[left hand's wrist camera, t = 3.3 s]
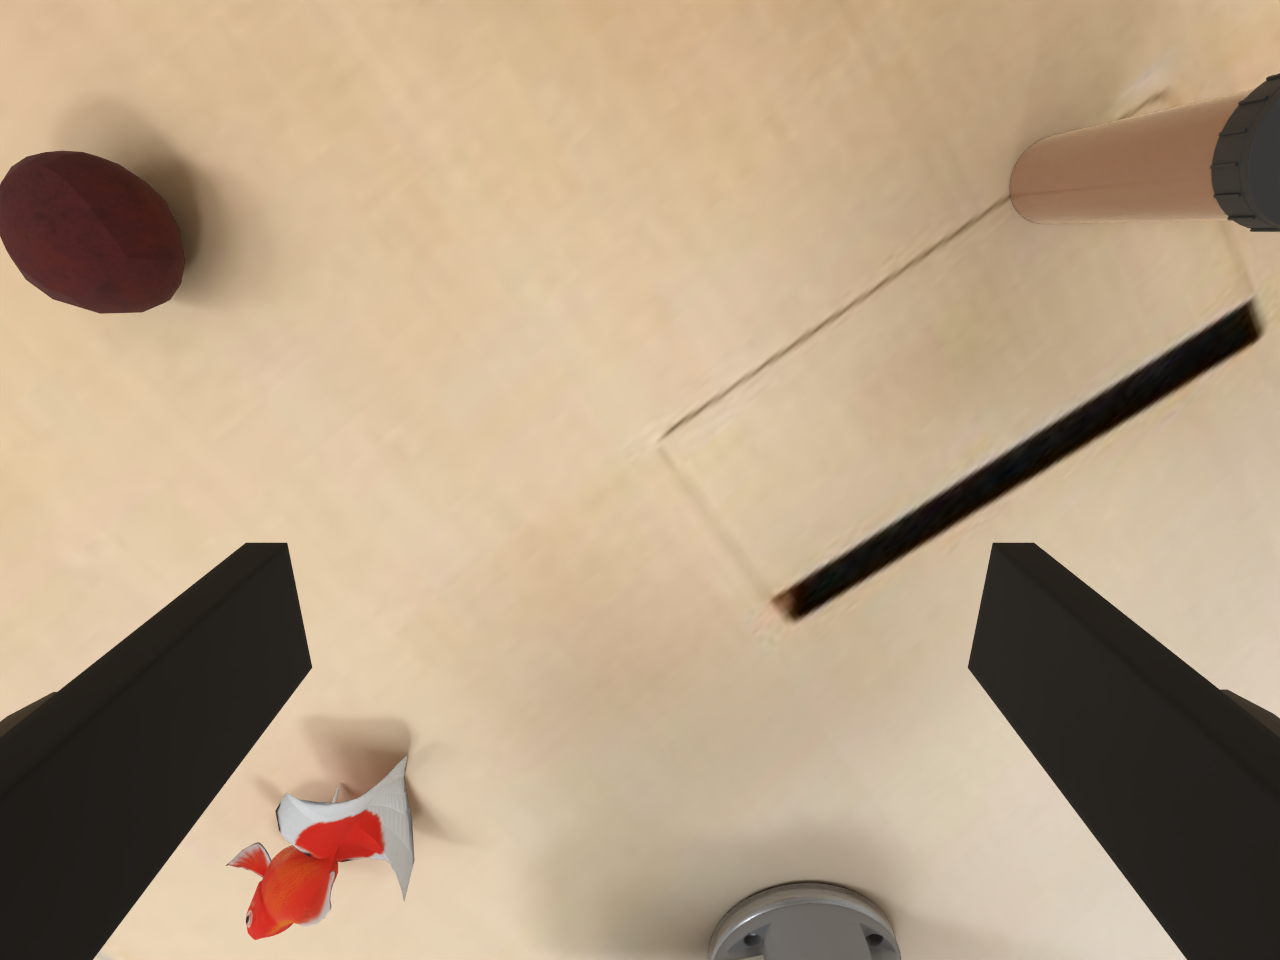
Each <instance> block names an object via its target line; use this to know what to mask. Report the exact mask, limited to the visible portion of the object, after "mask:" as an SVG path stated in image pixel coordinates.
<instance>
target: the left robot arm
mask: <svg viewBox="0 0 1280 960" xmlns="http://www.w3.org/2000/svg"><path fill="white" fill-rule="evenodd" d="M311 668H312V665H311V660H310V655H309V650H308V645H307V640H306V635H305V630H304V625H303V620H302V615H301V610H300V605H299V600H298V595H297V590H296V585H295V580H294V575H293V570H292V565H291V560H290V555H289V550H288V545H287V543H245V544H244V545H243V546H241V547H240V548H239V549H238V550H236V551H235V552H234V553H233V554H231V555H230V556H229V557H227V558H226V559H225V560H224V561H222V562H221V563H220V564H219V565H217V566H216V567H215V568H214V569H212V570H211V571H210V572H209V573H207V574H206V575H205V576H203V577H202V578H201V579H200V580H198V581H197V582H196V583H195V584H193V585H192V586H191V587H190V588H188V589H187V590H186V591H185V592H183V593H182V594H181V595H179V596H178V597H177V598H176V599H174V600H173V601H172V602H171V603H169V604H168V605H167V606H166V607H164V608H163V609H162V610H161V611H159V612H158V613H157V614H155V615H154V616H153V617H152V618H150V619H149V620H148V621H147V622H145V623H144V624H143V625H142V626H140V627H139V628H138V629H137V630H135V631H134V632H133V633H131V634H130V635H129V636H128V637H126V638H125V639H124V640H123V641H121V642H120V643H119V644H118V645H116V646H115V647H114V648H113V649H111V650H110V651H109V652H107V653H106V654H105V655H104V656H102V657H101V658H100V659H99V660H97V661H96V662H95V663H94V664H92V665H91V666H90V667H89V668H87V669H86V670H85V671H83V672H82V673H81V674H80V675H78V676H77V677H76V678H75V679H73V680H72V681H71V682H70V683H68V684H67V685H66V686H65V687H63V688H62V689H61V690H59V691H58V692H53V693H51V694H49V695H47V696H45V697H43V698H41V699H39V700H38V701H36V702H34V703H32V704H30V705H28V706H26V707H24V708H22V709H21V710H19V711H17V712H15V713H13V714H11V715H9V716H7V717H6V718H5V719H3V720H2V721H1V722H0V960H93V959H94V957H95V956H96V955H97V953H98V952H99V951H100V949H101V948H102V947H103V945H104V944H105V943H106V941H107V940H108V939H109V937H110V936H111V935H112V933H113V932H114V931H115V929H116V928H117V927H118V925H119V924H120V923H121V921H122V920H123V919H124V917H125V916H126V915H127V913H128V912H129V911H130V909H131V908H132V907H133V906H134V904H135V903H136V902H137V900H138V899H139V898H140V896H141V895H142V894H143V892H144V891H145V890H146V888H147V887H148V886H149V884H150V883H151V882H152V880H153V879H154V878H155V876H156V875H157V874H158V872H159V871H160V870H161V868H162V867H163V866H164V864H165V863H166V862H167V860H168V859H169V858H170V856H171V855H172V854H173V852H174V851H175V850H176V848H177V847H178V846H179V844H180V843H181V842H182V840H183V839H184V838H185V836H186V835H187V834H188V832H189V831H190V830H191V828H192V827H193V826H194V824H195V823H196V822H197V820H198V819H199V818H200V816H201V815H202V814H203V812H204V811H205V810H206V808H207V807H208V806H209V804H210V803H211V802H212V800H213V799H214V798H215V796H216V795H217V794H218V792H219V791H220V790H221V788H222V787H223V786H224V784H225V783H226V782H227V780H228V779H229V778H230V776H231V775H232V774H233V772H234V771H235V770H236V768H237V767H238V766H239V764H240V763H241V762H242V760H243V759H244V758H245V756H246V755H247V754H248V752H249V751H250V750H251V748H252V747H253V746H254V744H255V743H256V742H257V740H258V739H259V738H260V736H261V735H262V734H263V732H264V731H265V730H266V728H267V727H268V726H269V724H270V723H271V722H272V720H273V719H274V718H275V716H276V715H277V714H278V712H279V711H280V710H281V708H282V707H283V706H284V704H285V703H286V702H287V700H288V699H289V698H290V696H291V695H292V694H293V692H294V691H295V690H296V688H297V687H298V686H299V684H300V683H301V682H302V680H303V679H304V678H305V676H306V675H307V674H308V672H309V671H310V670H311ZM968 668H969V670H970V671H971V672H972V674H973V675H974V676H975V678H976V679H977V680H978V682H979V683H980V684H981V686H982V687H983V688H984V690H985V691H986V692H987V694H988V695H989V696H990V698H991V699H992V700H993V702H994V703H995V704H996V706H997V707H998V708H999V710H1000V711H1001V712H1002V714H1003V715H1004V716H1005V718H1006V719H1007V720H1008V722H1009V723H1010V724H1011V726H1012V727H1013V728H1014V730H1015V731H1016V732H1017V734H1018V735H1019V736H1020V738H1021V739H1022V740H1023V742H1024V743H1025V744H1026V746H1027V747H1028V748H1029V750H1030V751H1031V752H1032V754H1033V755H1034V756H1035V758H1036V759H1037V760H1038V762H1039V763H1040V764H1041V766H1042V767H1043V768H1044V770H1045V771H1046V772H1047V774H1048V775H1049V776H1050V778H1051V779H1052V780H1053V782H1054V783H1055V784H1056V786H1057V787H1058V788H1059V790H1060V791H1061V792H1062V794H1063V795H1064V796H1065V798H1066V799H1067V800H1068V802H1069V803H1070V804H1071V806H1072V807H1073V808H1074V810H1075V811H1076V812H1077V814H1078V815H1079V816H1080V818H1081V819H1082V820H1083V822H1084V823H1085V824H1086V826H1087V827H1088V828H1089V830H1090V831H1091V832H1092V834H1093V835H1094V836H1095V838H1096V839H1097V840H1098V842H1099V843H1100V844H1101V846H1102V847H1103V848H1104V850H1105V851H1106V852H1107V854H1108V855H1109V856H1110V858H1111V859H1112V860H1113V862H1114V863H1115V864H1116V866H1117V867H1118V868H1119V870H1120V871H1121V872H1122V874H1123V875H1124V876H1125V878H1126V879H1127V880H1128V882H1129V883H1130V884H1131V886H1132V887H1133V888H1134V890H1135V891H1136V892H1137V894H1138V895H1139V896H1140V898H1141V899H1142V900H1143V902H1144V903H1145V904H1146V906H1147V907H1148V908H1149V910H1150V911H1151V912H1152V913H1153V915H1154V916H1155V917H1156V919H1157V920H1158V921H1159V923H1160V924H1161V925H1162V927H1163V928H1164V929H1165V931H1166V932H1167V933H1168V935H1169V936H1170V937H1171V939H1172V940H1173V941H1174V943H1175V944H1176V945H1177V947H1178V948H1179V949H1180V951H1181V952H1182V953H1183V955H1184V956H1185V957H1186V959H1187V960H1280V718H1278V717H1277V716H1276V715H1274V714H1273V713H1271V712H1269V711H1267V710H1265V709H1263V708H1261V707H1259V706H1258V705H1256V704H1254V703H1252V702H1250V701H1248V700H1246V699H1244V698H1242V697H1240V696H1238V695H1237V694H1235V693H1233V692H1231V691H1229V690H1219V689H1218V688H1217V687H1215V686H1214V685H1213V684H1212V683H1210V682H1209V681H1208V680H1207V679H1205V678H1204V677H1203V676H1202V675H1200V674H1199V673H1198V672H1197V671H1195V670H1194V669H1193V668H1191V667H1190V666H1189V665H1188V664H1186V663H1185V662H1184V661H1183V660H1181V659H1180V658H1179V657H1178V656H1176V655H1175V654H1174V653H1173V652H1171V651H1170V650H1169V649H1167V648H1166V647H1165V646H1164V645H1162V644H1161V643H1160V642H1159V641H1157V640H1156V639H1155V638H1154V637H1152V636H1151V635H1150V634H1149V633H1147V632H1146V631H1145V630H1143V629H1142V628H1141V627H1140V626H1138V625H1137V624H1136V623H1135V622H1133V621H1132V620H1131V619H1130V618H1128V617H1127V616H1126V615H1125V614H1123V613H1122V612H1121V611H1119V610H1118V609H1117V608H1116V607H1114V606H1113V605H1112V604H1111V603H1109V602H1108V601H1107V600H1106V599H1104V598H1103V597H1102V596H1101V595H1099V594H1098V593H1097V592H1095V591H1094V590H1093V589H1092V588H1090V587H1089V586H1088V585H1087V584H1085V583H1084V582H1083V581H1082V580H1080V579H1079V578H1078V577H1077V576H1075V575H1074V574H1073V573H1071V572H1070V571H1069V570H1068V569H1066V568H1065V567H1064V566H1063V565H1061V564H1060V563H1059V562H1058V561H1056V560H1055V559H1054V558H1053V557H1051V556H1050V555H1049V554H1047V553H1046V552H1045V551H1044V550H1042V549H1041V548H1040V547H1039V546H1037V545H1036V544H1035V543H993V544H992V550H991V555H990V560H989V565H988V570H987V575H986V580H985V585H984V590H983V595H982V600H981V605H980V610H979V615H978V620H977V625H976V630H975V635H974V640H973V645H972V650H971V655H970V660H969V665H968ZM709 960H901V955H900V950H899V947H898V944H897V942H896V939H895V936H894V933H893V931H892V928H891V925H890V923H889V921H888V919H887V918H886V916H885V915H884V913H883V912H882V911H881V910H880V909H879V908H878V907H877V906H876V905H875V904H874V903H873V902H871V901H870V900H869V899H867V898H865V897H864V896H862V895H860V894H858V893H856V892H854V891H851V890H848V889H846V888H842V887H838V886H834V885H828V884H820V883H798V884H789V885H784V886H779V887H775V888H771V889H768V890H765V891H762V892H760V893H758V894H755V895H753V896H751V897H749V898H747V899H746V900H744V901H742V902H741V903H739V904H738V905H736V906H735V907H734V908H733V909H731V910H730V911H729V912H728V913H727V914H726V915H725V916H724V917H723V918H722V920H721V921H720V922H719V924H718V925H717V927H716V929H715V930H714V933H713V935H712V937H711V941H710V946H709Z"/></svg>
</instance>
